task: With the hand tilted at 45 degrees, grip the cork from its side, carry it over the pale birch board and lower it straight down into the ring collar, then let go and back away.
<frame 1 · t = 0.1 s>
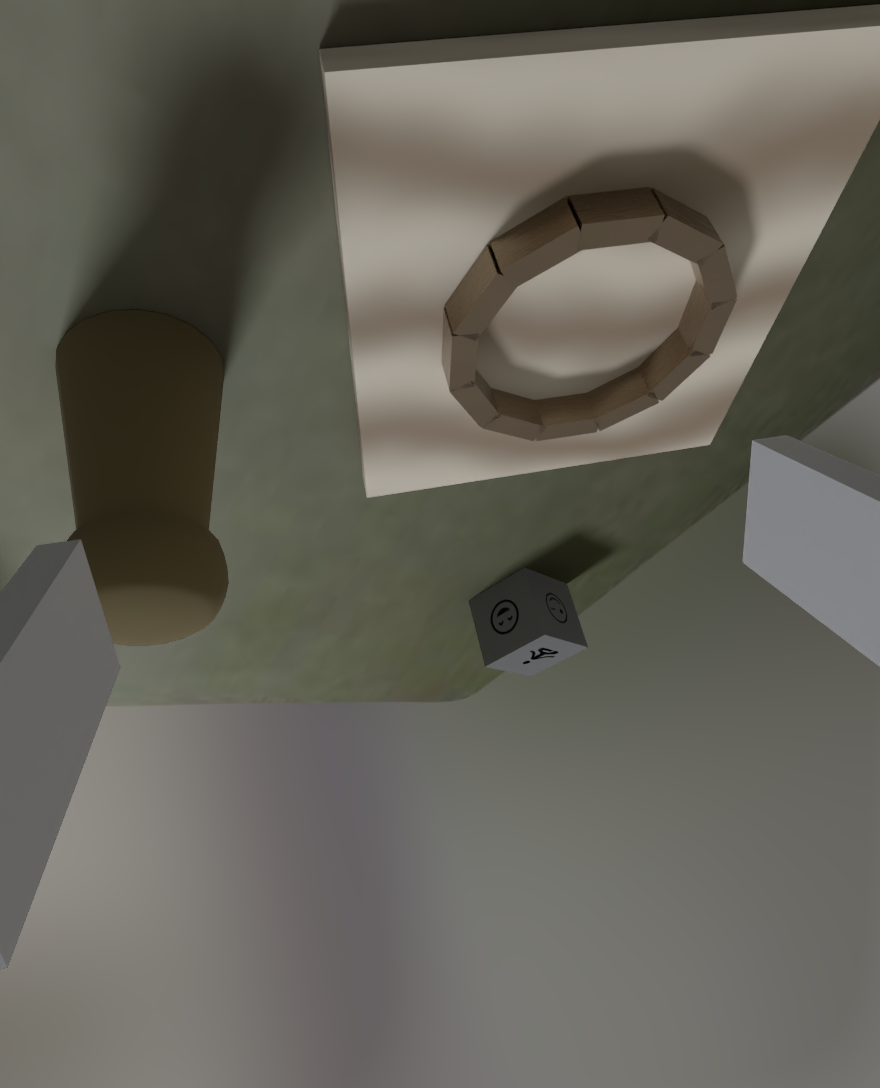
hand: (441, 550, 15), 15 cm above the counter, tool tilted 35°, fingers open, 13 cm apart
board: (570, 297, 31), on the counter
collar: (579, 318, 30), resting on board
cork: (142, 367, 30), on the counter
dice cube: (517, 588, 53), on the counter
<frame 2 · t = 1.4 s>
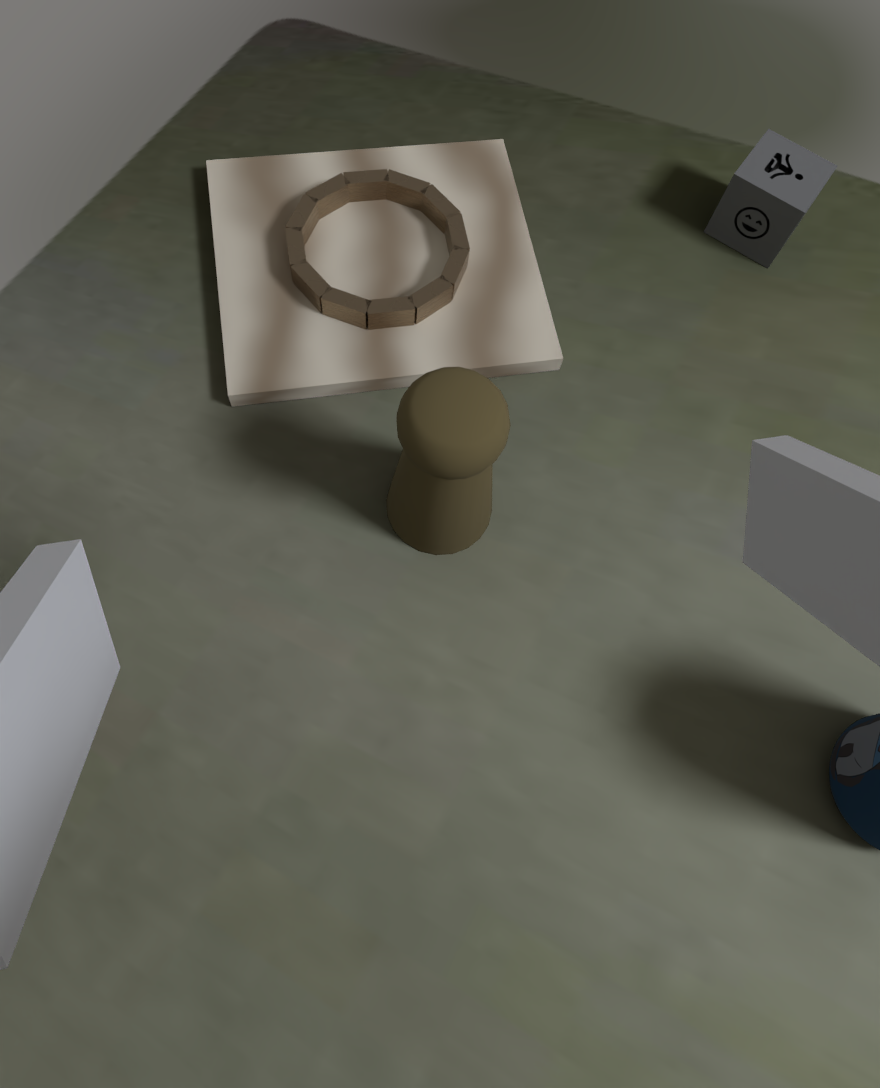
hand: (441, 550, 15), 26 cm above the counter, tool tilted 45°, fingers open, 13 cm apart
board: (378, 268, 49), on the counter
collar: (377, 255, 48), resting on board
cork: (438, 506, 44), on the counter
soda can: (879, 786, 40), on the counter
dice cube: (749, 230, 53), on the counter
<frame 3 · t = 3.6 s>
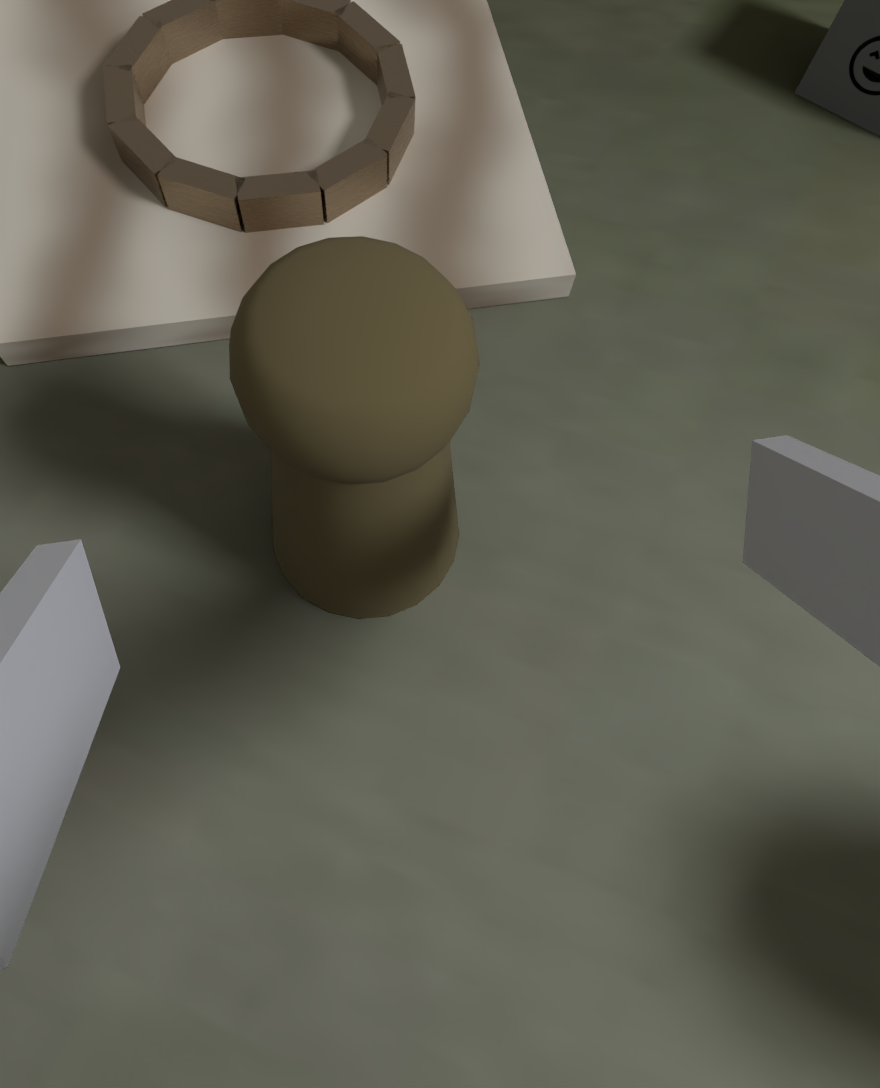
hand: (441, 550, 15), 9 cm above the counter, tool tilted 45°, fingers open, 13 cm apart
board: (270, 144, 30), on the counter
collar: (266, 117, 29), resting on board
cork: (366, 531, 25), on the counter
dice cube: (863, 93, 34), on the counter
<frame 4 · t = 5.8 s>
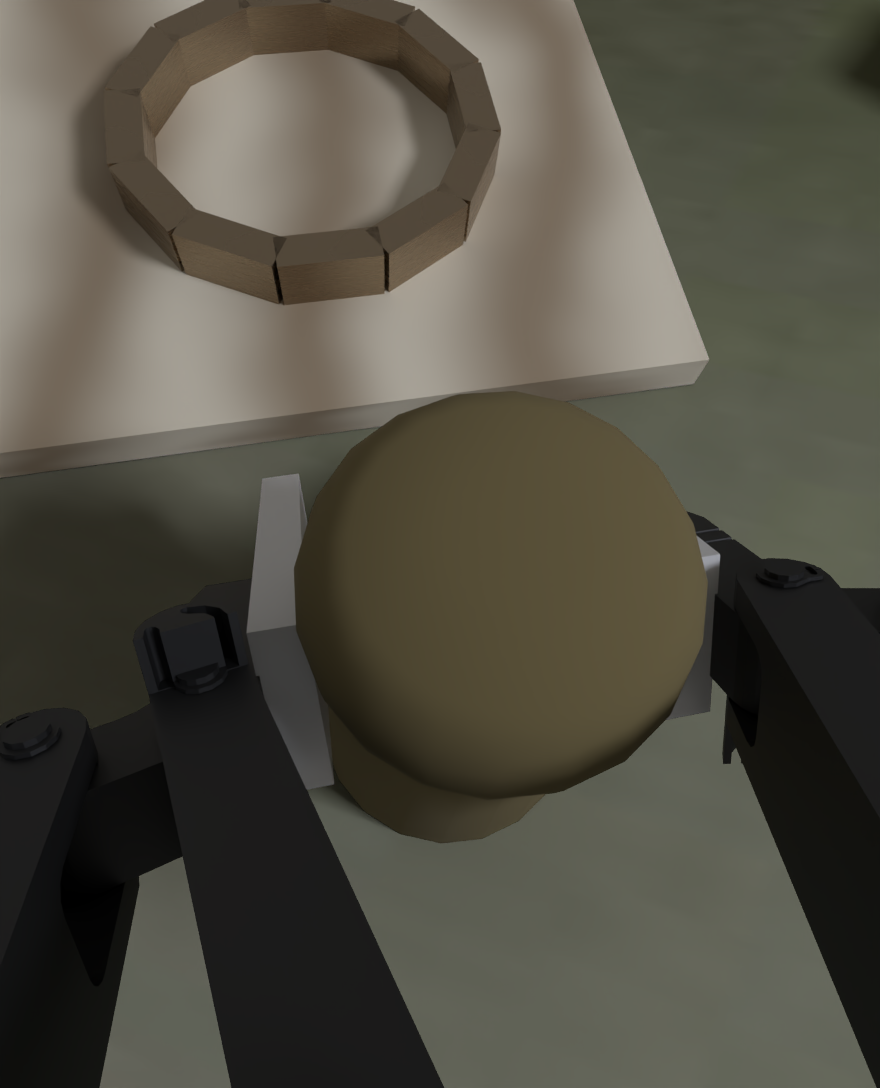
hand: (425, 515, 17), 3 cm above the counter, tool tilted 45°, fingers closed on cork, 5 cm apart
board: (312, 186, 24), on the counter
collar: (309, 154, 23), resting on board
cork: (446, 710, 19), on the counter, touching gripper
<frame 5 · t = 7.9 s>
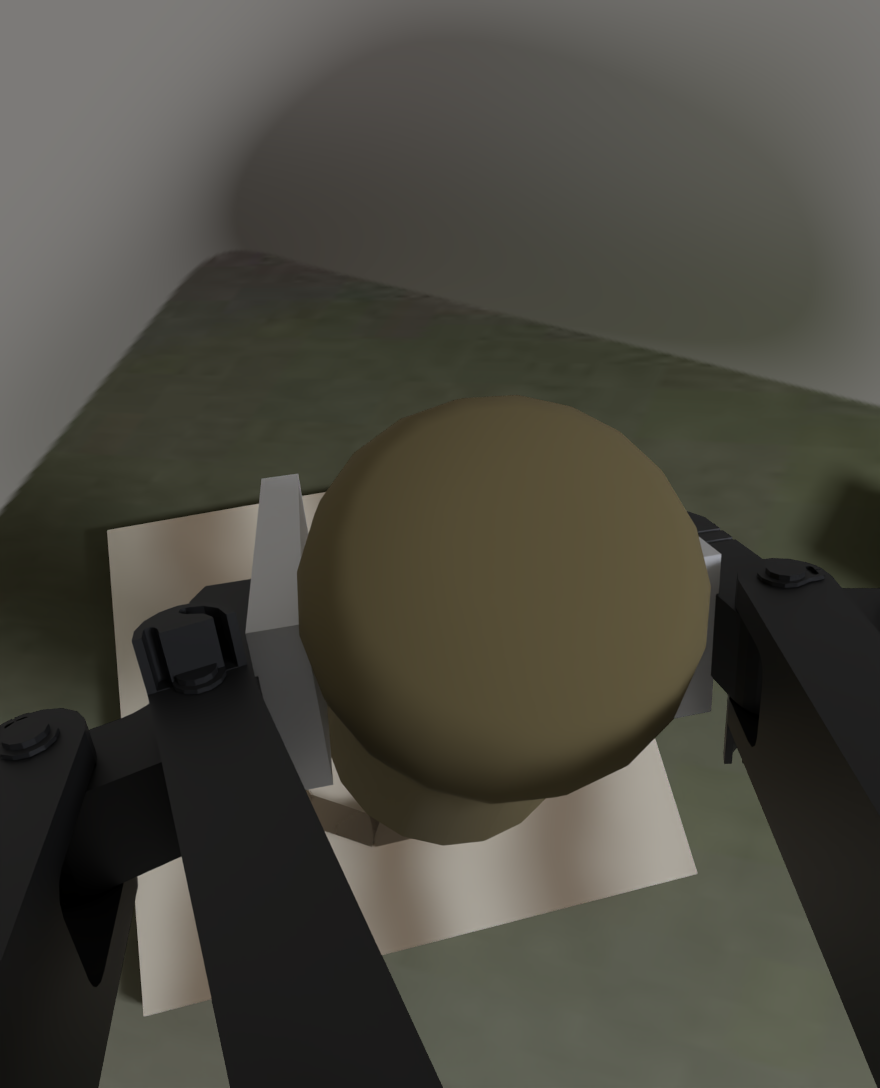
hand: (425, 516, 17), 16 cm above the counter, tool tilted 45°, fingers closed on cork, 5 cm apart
board: (385, 697, 31), on the counter
collar: (384, 691, 30), resting on board
cork: (448, 713, 19), point 13 cm above the counter, touching gripper
when the fingers open (6 cm above the counter, at t = 10.4 s): cork drops 1 cm, resting on board.
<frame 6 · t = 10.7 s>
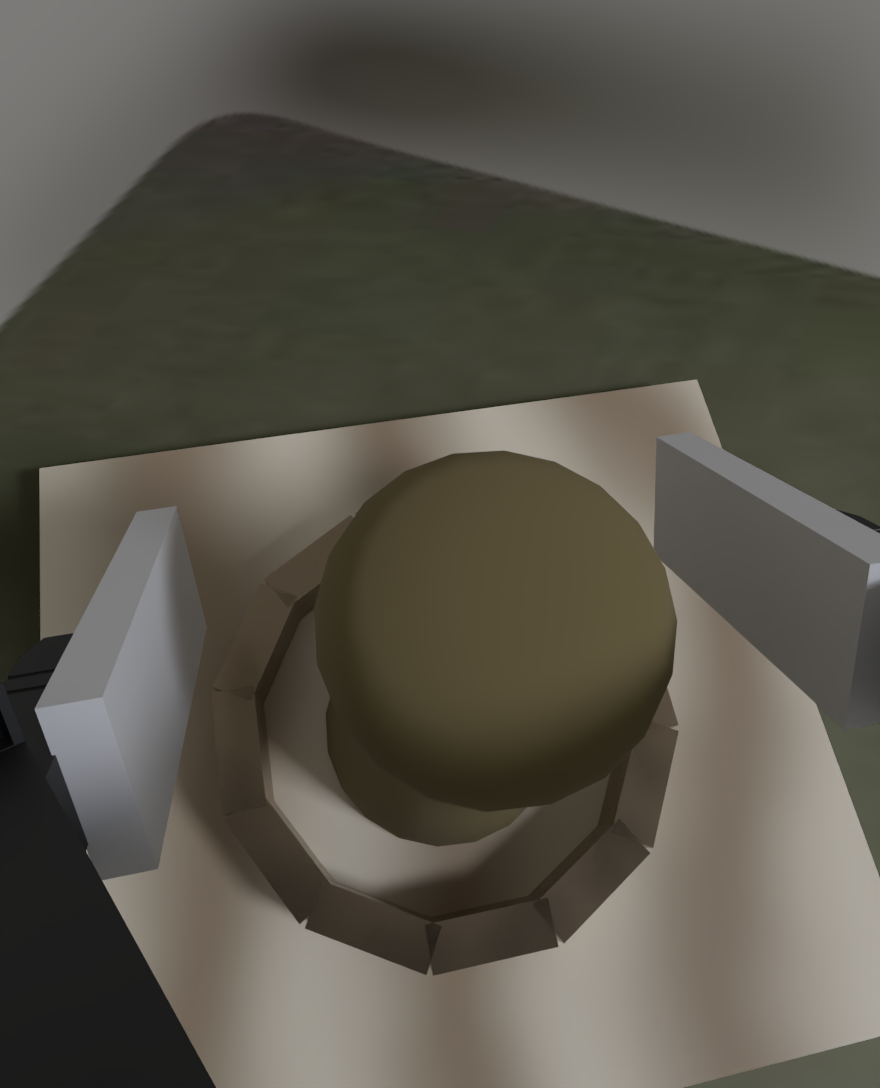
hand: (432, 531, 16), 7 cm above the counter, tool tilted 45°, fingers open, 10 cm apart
board: (440, 725, 21), on the counter
collar: (443, 718, 20), resting on board
cork: (442, 722, 20), point 1 cm above the counter, touching board
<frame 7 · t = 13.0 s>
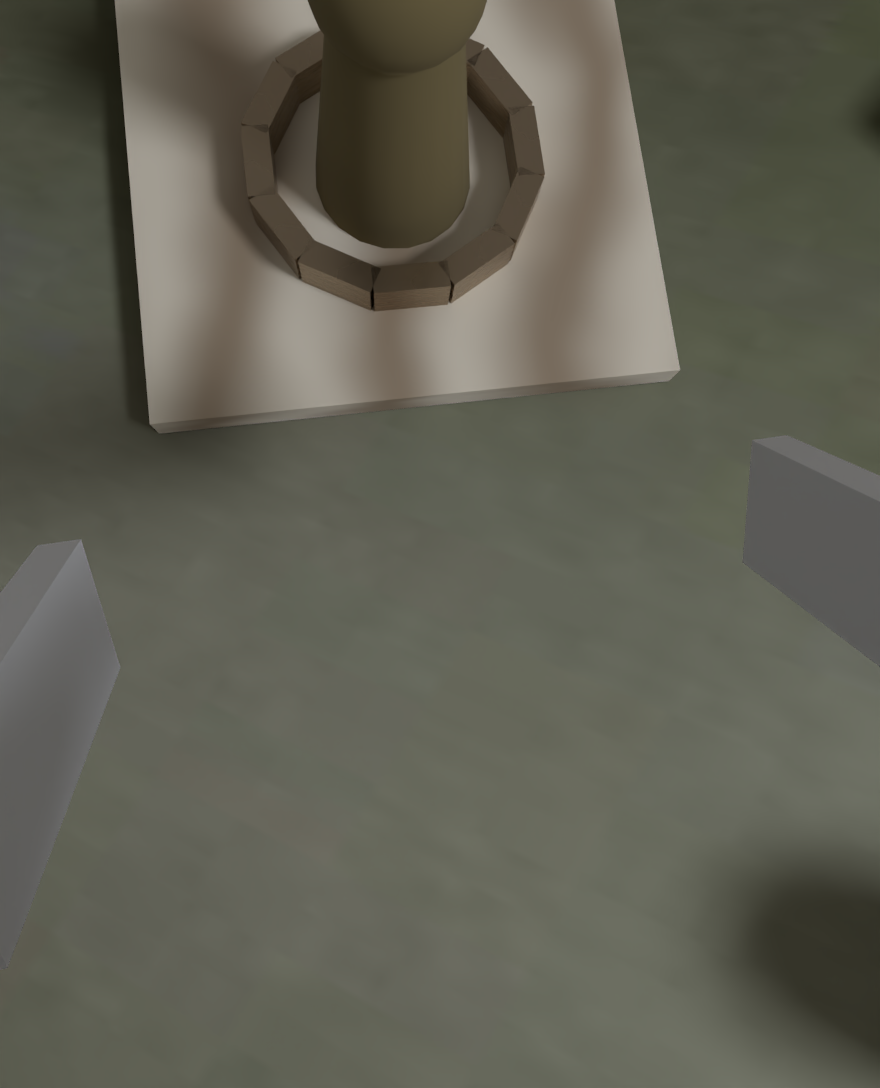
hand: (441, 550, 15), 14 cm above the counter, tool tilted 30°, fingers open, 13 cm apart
board: (393, 193, 31), on the counter
collar: (393, 175, 30), resting on board
cork: (393, 179, 30), point 1 cm above the counter, touching board
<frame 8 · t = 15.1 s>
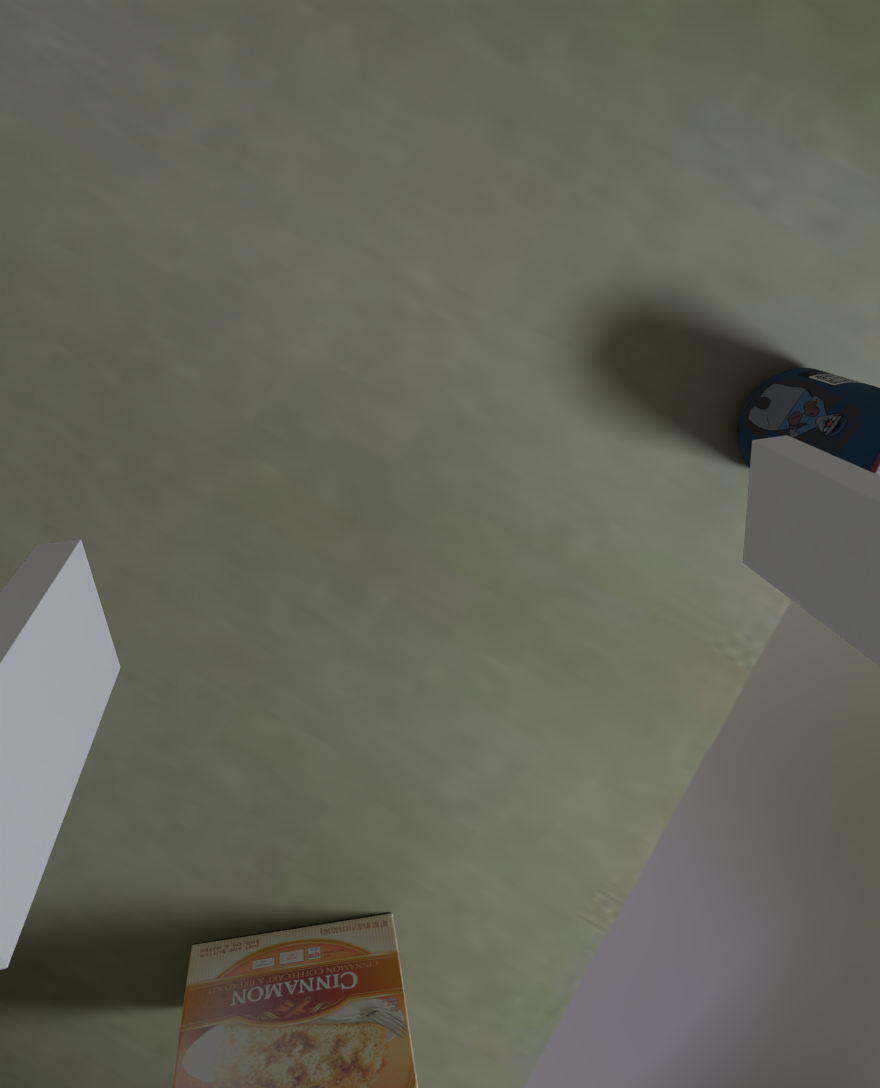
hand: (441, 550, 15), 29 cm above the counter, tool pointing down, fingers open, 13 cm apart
soda can: (777, 419, 48), on the counter
coffeecake box: (296, 956, 58), on the counter
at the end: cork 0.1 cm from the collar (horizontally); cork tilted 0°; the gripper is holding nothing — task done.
